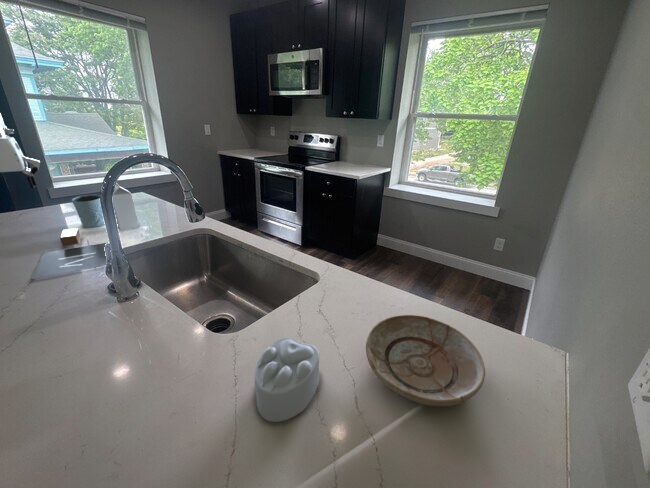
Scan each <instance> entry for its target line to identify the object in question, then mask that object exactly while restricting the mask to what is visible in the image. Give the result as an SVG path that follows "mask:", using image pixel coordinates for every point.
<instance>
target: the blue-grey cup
mask: <svg viewBox="0 0 650 488" xmlns="http://www.w3.org/2000/svg"><path fill="white" fill-rule="evenodd" d="M100 196H101V195H100V194H84V195H78V196H75V197H74V198H72V199H71V202H72V205H73V207H74V208H75V211H76V212H77V216H78V218H79V221H80V223H81V225H82V227H83V228H87V229H88V228H89V229H92V228H98V227H102V226H104V225H106V224H104V221H103V216H102V211H101V206H100V200H99V199H100Z"/></svg>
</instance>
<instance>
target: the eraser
mask: <svg viewBox="0 0 650 488" xmlns="http://www.w3.org/2000/svg"><path fill="white" fill-rule="evenodd" d="M81 238H82V236H81V233H80V230H79V228H78V227H77V228H76V227H75V228H69V229H68V228H67V229H63V230H62V231H61V234H60V236H59V240H60V243H61V245H62V247H71V246H76V245H79V244H80V241H81Z"/></svg>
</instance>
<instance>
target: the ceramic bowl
mask: <svg viewBox="0 0 650 488" xmlns="http://www.w3.org/2000/svg"><path fill="white" fill-rule="evenodd" d="M365 354H366V358H367V362H368V365H369V366H370V368H371V370H372V372H373V374H375V376H376V377H377V379H379V381H380V382H381V383H382V384H383V385H384V386H386V387H387V388H388V389H389V390H391V391H393V392H394V393H395V394H397V395H398V396H400V397H402V398H404V399H406V400H408V401H411V402H414V403H417V404H421V405H423V406H431V407H451V406H457V405H460V404H462V403H464V402H467V401H468V400H470V399H472V398H473V397H474V396H476V394H477V393H478V392H479V391H480V389H481V388H482V387H483V384H484V382H485V377H486V368H485V363H484V360H483V357H482V355H481V353H480V351H479V349H478V348H477V347H476V346H475V344H474V343H473V342H472V341H471V340H470V339H469V338H468V337H467V336H466V335H465V333H462V332H461V331H460V330H458V329H457V328H455V327H453V326H451V325H450V324H447V323H446V322H445V323H444V322H443V321H440V320H437V319H435V318H431V317H427V316H424V315H423V316H422V315H417V314H416V315H415V314H403V315H395V316H391V317H388V318H385V319H383V320H381V321H379V322H377V324H375V325H374V326H373V327H372V329H371V330H370V331H369V333H368V336H367V338H366V341H365Z"/></svg>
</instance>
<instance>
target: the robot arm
mask: <svg viewBox="0 0 650 488" xmlns="http://www.w3.org/2000/svg"><path fill="white" fill-rule="evenodd" d="M11 134H13V135H15V130H14V129H13V128H8V127H7V126H6V124H5V122H4V119H3V117H2V114H1V113H0V173H11V172H22V173H23V174H25V175H26V179H27V182H28V183H29V187H30V189H32V190H34V189H36V188H37V186H38V182H37V179H36V176H35V174H36V173H37V172H38V171H39V169H40V166H41V161H40V160H38V159H34V158H31V157H27V156H25V155H24V153H23V151H22V149H21V147H20V145H19V143H18V142H17V140H16V139H15V138H14V136H10V135H11ZM28 163H30V164H32V166H33V167H32V168H29V167H28Z"/></svg>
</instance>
